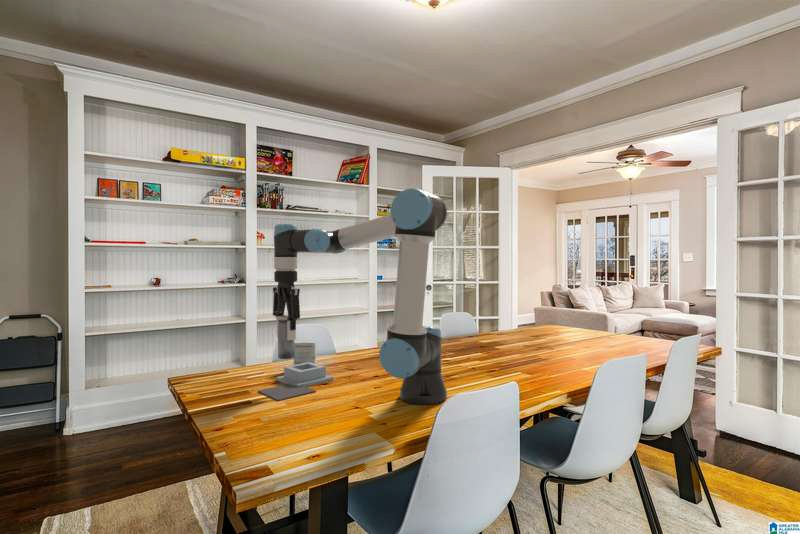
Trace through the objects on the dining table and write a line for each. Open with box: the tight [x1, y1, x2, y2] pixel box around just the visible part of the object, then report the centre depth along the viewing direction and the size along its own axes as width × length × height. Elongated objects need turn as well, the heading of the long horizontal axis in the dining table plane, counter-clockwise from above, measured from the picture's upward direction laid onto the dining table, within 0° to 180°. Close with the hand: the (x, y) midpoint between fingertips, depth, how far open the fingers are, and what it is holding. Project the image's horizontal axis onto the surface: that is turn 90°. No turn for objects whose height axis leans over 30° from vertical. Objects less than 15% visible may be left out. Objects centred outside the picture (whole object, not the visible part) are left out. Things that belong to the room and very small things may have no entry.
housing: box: [275, 362, 334, 387], centre depth 161 cm, size 15×15×5 cm
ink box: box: [293, 340, 317, 365], centre depth 175 cm, size 9×5×12 cm, turn 92°
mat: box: [257, 383, 317, 402], centre depth 147 cm, size 14×14×1 cm
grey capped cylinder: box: [275, 314, 295, 360], centre depth 147 cm, size 6×6×14 cm
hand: (286, 338), depth 147 cm, fingers closed on grey capped cylinder, 6 cm apart
